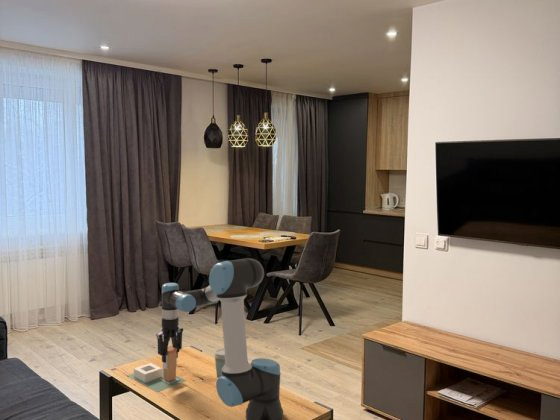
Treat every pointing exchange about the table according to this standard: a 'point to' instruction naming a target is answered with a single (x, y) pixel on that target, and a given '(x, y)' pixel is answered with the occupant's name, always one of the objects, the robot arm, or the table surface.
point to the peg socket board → (153, 377)
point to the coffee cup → (219, 361)
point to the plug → (170, 364)
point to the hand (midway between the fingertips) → (169, 366)
